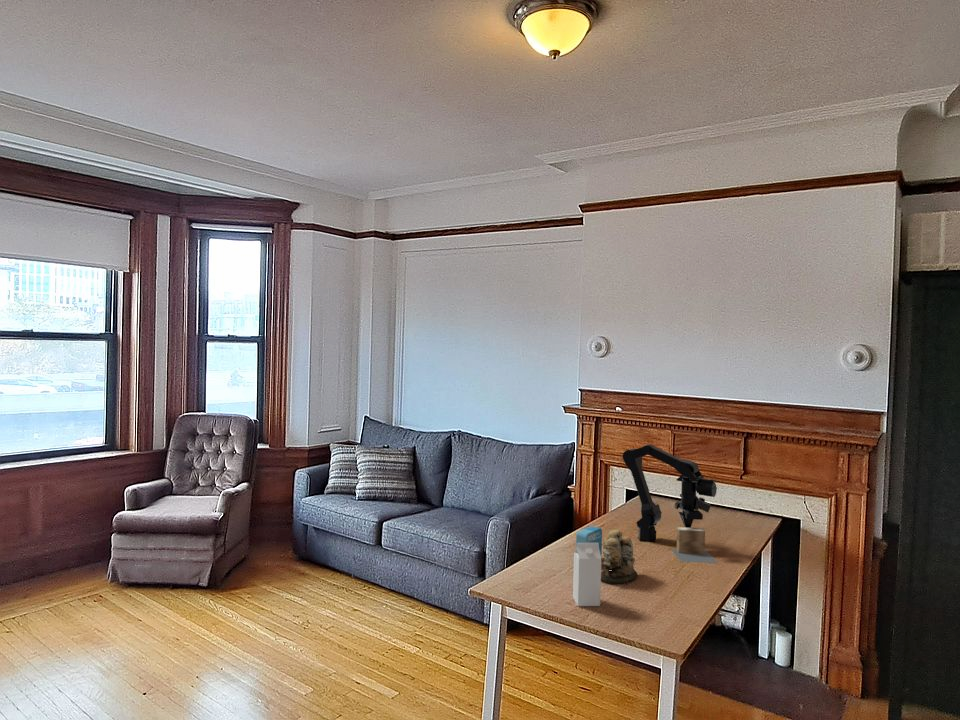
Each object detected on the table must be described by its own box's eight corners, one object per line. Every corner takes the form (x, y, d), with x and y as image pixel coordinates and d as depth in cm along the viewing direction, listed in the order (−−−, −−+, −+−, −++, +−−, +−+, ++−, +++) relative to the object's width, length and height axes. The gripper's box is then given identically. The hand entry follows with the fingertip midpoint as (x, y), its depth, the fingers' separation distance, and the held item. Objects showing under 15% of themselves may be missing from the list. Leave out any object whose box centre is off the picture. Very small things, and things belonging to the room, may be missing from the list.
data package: (585, 566, 238) (586, 534, 238) (575, 563, 241) (576, 531, 241) (601, 558, 247) (602, 527, 247) (591, 555, 250) (592, 525, 250)
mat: (680, 563, 244) (680, 561, 244) (670, 550, 259) (670, 549, 259) (718, 564, 243) (718, 562, 243) (705, 551, 258) (705, 550, 258)
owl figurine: (620, 589, 216) (621, 539, 216) (590, 581, 224) (590, 532, 223) (644, 575, 230) (645, 527, 230) (614, 567, 237) (615, 521, 237)
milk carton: (572, 597, 208) (574, 539, 207) (594, 597, 208) (595, 539, 208) (577, 606, 200) (579, 546, 200) (600, 606, 201) (601, 546, 201)
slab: (678, 553, 254) (679, 529, 254) (676, 550, 257) (677, 527, 257) (704, 553, 254) (705, 530, 253) (701, 551, 257) (702, 528, 257)
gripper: (716, 499, 250) (715, 538, 250) (701, 488, 269) (700, 525, 269) (687, 498, 250) (686, 538, 251) (674, 487, 269) (673, 524, 269)
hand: (687, 531), depth 260 cm, fingers closed
